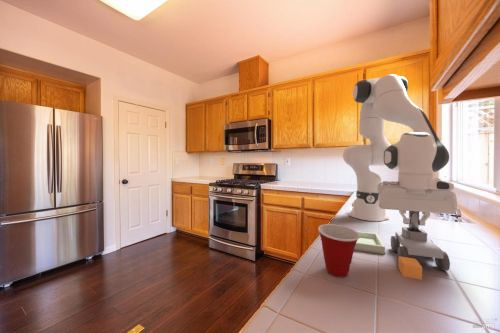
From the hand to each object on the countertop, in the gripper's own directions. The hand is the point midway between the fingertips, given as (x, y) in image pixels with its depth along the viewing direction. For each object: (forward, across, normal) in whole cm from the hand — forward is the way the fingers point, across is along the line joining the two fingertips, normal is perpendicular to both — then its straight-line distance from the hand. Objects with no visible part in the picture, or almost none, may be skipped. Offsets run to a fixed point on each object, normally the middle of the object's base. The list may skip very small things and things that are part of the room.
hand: (413, 224), depth 68 cm
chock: (+10, -5, -13) cm, 17 cm away
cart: (+10, 0, -3) cm, 11 cm away
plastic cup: (+10, -23, -20) cm, 32 cm away
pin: (+4, 0, 0) cm, 4 cm away
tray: (+10, -14, +4) cm, 17 cm away
